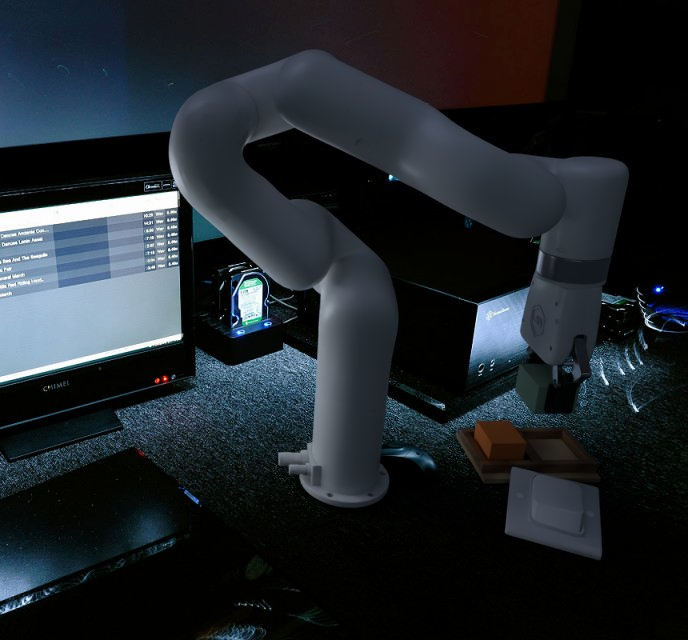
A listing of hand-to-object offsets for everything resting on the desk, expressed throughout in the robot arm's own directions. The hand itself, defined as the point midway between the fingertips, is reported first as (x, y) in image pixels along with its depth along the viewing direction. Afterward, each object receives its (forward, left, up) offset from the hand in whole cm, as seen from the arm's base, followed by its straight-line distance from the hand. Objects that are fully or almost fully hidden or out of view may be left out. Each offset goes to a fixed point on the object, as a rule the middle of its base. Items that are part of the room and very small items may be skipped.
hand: (545, 397), depth 85 cm
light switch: (+2, -4, -16) cm, 16 cm away
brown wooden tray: (+4, +9, -16) cm, 19 cm away
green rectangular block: (0, 0, -1) cm, 1 cm away
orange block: (0, +9, -15) cm, 18 cm away
